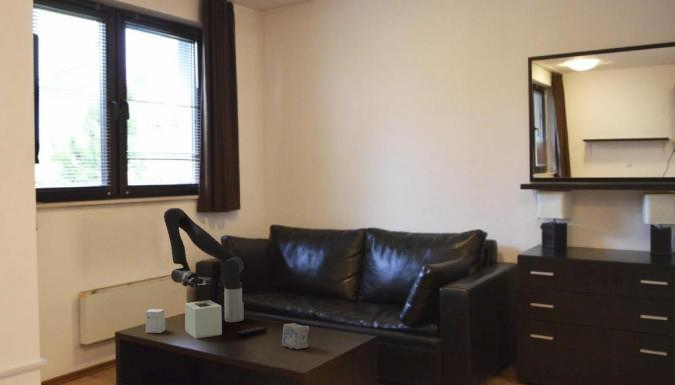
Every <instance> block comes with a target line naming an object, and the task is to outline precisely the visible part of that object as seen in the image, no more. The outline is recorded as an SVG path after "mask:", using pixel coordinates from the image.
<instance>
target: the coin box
mask: <svg viewBox="0 0 675 385" xmlns="http://www.w3.org/2000/svg"><path fill="white" fill-rule="evenodd" d="M222 313H223V312H222V305H221V304H218V303H216V302H214V301H212V300H210V299H209V300H200V301H192V302H191V301H190V302H185V303H184V326H185V327H184V332H186V333H187V334H189V336H191V337H192V338H194V339H196V340H197V339H203V338H209V337H216V336H222V334H223V327H222V326H223V322H222V320H223V319H222V316H223V315H222Z"/></svg>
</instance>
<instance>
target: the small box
mask: <svg viewBox="0 0 675 385" xmlns="http://www.w3.org/2000/svg"><path fill="white" fill-rule="evenodd" d="M165 313H166V311H165V309H164V308H163V309H162V308H161V309H160V308H158V309H157V308H154V309H153V308H151V309H150V308H149V309H148V310H146V311H145V313H144V315H145V319H144V320H145V333H146V334H147V333H149V334H151V333H157V334H158V333H159V334H161V333H162V332H164V331H165V330H166V314H165Z"/></svg>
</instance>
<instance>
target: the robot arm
mask: <svg viewBox="0 0 675 385" xmlns="http://www.w3.org/2000/svg"><path fill="white" fill-rule="evenodd" d="M163 221H164V223H165V224H164V225H165V227H166V230H167V234H168V238H169V242H170V249H171V256H172V262H173V264H174V265H181V266H182V267H179V268H175V269H173V270H171V274H170V278H171V280H172V281H173V282H174V283H177V284H181V285H182V286H183V287H189V288H193V289H194V288H195V289H196V288H197V287H199V286H200V285H201V286H206V285H208V286H211V285H212V284H213V278H211V277H209V276H206V277H201V275H200V274H199V273H196V272H195V271H193V270H191V268H190V266H189V263H188V259H187V254H186V248H185V245H184V242H183V239H182V236H181V233H180V229H181V230H182V231H184V232H185V233H186V234H187V236H188V237H189V239H190V241H191V243H193V245H194V246H196V247H197V248H198V249H199V250H200V251H202V252H203V253H205V254H207V255H209V256H211V257H213V258H214V259H216V260H218V261H219V262H221V263H222V269H221V271H222V283H223V287H224V288H223V289H224V292H223V293H224V296H223V297H224V321H225V322H226V323H238V322H241V321H244V320H245V319H244V315H245V314H244V313H245V312H244V308H245V307H244V301H243V283H242V282H241V280H240V278H241V277H240V274H241V272H242V271H243V270H244V267H245V266H244V263H243V261H242V259H241V258H240V257H239V256H237V255H235V254H234V253H232V252H231V251H229V250H228V249H227V248H226V247H224V245H222V243H220V242H219V241H218V240H216V239H215V238H214V237H213V236H212V235H211V234H210V233H209V232H208V231H206V230H204V229H203V228H202V227H201V226H200V225H199V224H197V223H196V222H194V220H192V218H191V217H190V216H189V215H188V214H187V213H186V212H185V211H184V210H183V209H181V208H179V207H171V208H168V209H166V210H165V212H164V213H163Z"/></svg>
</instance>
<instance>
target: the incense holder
mask: <svg viewBox="0 0 675 385" xmlns="http://www.w3.org/2000/svg"><path fill="white" fill-rule="evenodd" d="M309 333H310V326H309V325H301V324H297V323H294V322H293V323H284V324H283V329H282V339H281V345H282V346H284V347H288V349H289V348H290V349H289V350H292V349H296V350H299V349H307V347H308V348H309V343H308V334H309Z"/></svg>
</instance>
